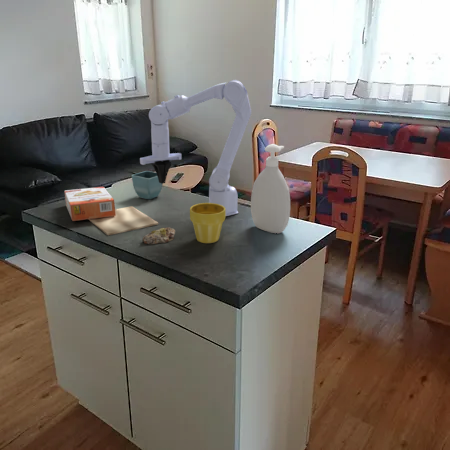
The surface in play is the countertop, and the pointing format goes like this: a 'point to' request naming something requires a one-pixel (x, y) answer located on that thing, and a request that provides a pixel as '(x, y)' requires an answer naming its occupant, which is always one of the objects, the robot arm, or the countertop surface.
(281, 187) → the soap bottle
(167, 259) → the countertop surface
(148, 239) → the mineral rock
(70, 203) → the cracker box
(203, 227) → the plant pot
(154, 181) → the flower pot
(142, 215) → the board
